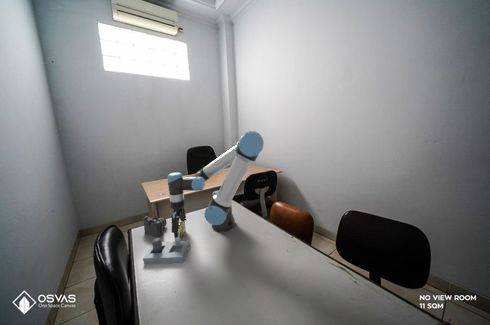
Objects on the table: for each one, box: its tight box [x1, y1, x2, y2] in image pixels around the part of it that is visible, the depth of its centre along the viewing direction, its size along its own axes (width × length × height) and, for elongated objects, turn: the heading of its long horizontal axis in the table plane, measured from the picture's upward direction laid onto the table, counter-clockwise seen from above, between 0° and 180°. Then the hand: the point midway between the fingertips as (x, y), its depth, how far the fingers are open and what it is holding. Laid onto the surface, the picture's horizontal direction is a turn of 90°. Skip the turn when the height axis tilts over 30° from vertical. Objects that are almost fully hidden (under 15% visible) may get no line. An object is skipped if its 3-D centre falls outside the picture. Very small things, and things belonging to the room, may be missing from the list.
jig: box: [142, 237, 191, 265], centre depth 86 cm, size 18×12×8 cm, turn 91°
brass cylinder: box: [178, 221, 185, 239], centre depth 101 cm, size 4×4×8 cm
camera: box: [143, 215, 168, 238], centre depth 107 cm, size 14×11×10 cm
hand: (180, 235), depth 102 cm, fingers open, 9 cm apart
